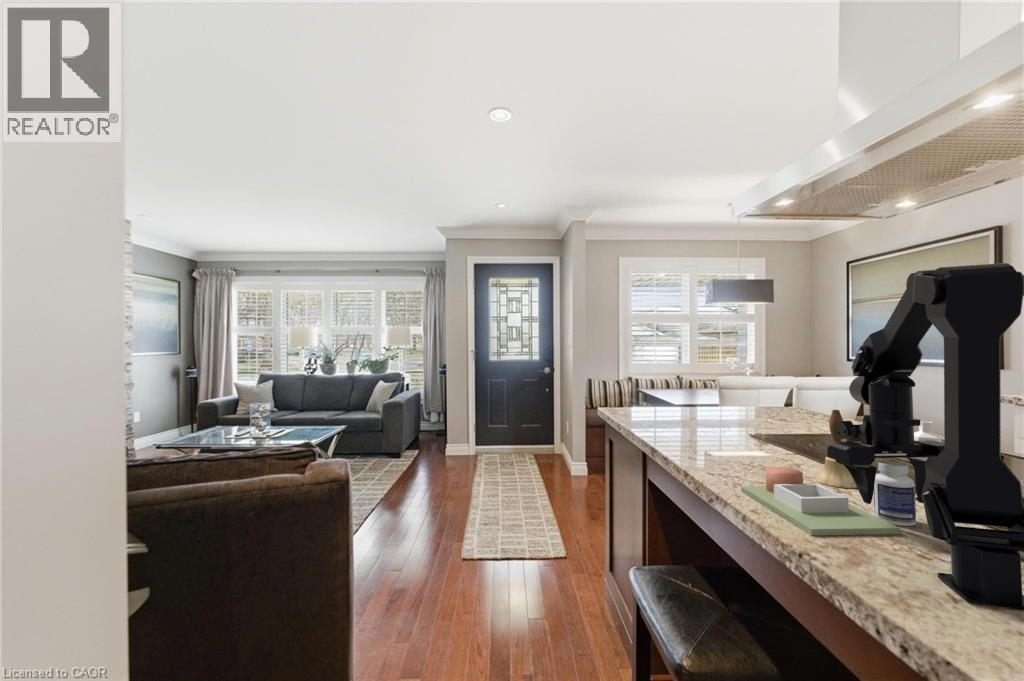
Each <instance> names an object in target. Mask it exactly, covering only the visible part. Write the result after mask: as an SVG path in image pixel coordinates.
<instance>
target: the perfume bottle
mask: <svg viewBox="0 0 1024 681" xmlns="http://www.w3.org/2000/svg"><path fill="white" fill-rule="evenodd" d="M933 424H934V422H933V421H930V420H929V421H928V420H920V425H921V426H918V431H914V441H919V440H933V441H937V442H942V437H943V436H941V435H939V434H938V433H935V432H934V431H933ZM915 499H917V495H916V494H915Z"/></svg>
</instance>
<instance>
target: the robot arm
mask: <svg viewBox="0 0 1024 681" xmlns="http://www.w3.org/2000/svg"><path fill="white" fill-rule="evenodd" d="M905 286H906V289H905V291H904V292H903V294H902V295H901V297H900V300H899V301H898V303H897V304H896V306H895V308H894V309H893V311H892V313H891V314H890V317H889V319H888V320H887V322H886V324H885V326H884V327H883V328H882V329H881V328H880V329H879V330H877V331H874V332H872V333H870V334H869V335H868V336H867V338H865V340H864V341H863V343H862V345H860V346H859V348H858V351H857V352H856V355H855V357H854V360H853V363H852V365H851V367H850V368H851V370H852V375H853V376H854V377H855V378H854V379H853V380H851V382H850V385H849V387H848V390H849V393H850V396H851V397H852V399H854V401H856V402H857V403H860V404H864V405H866V406H869V411H868V412H869V414H864V415H863V417H862V423H861V424H859V423H858V424H854V423H853V421H851V420H843V421H839V422H836V433H837V436H838V438H839V439H841V440H847V441H841V442H833V441H831V442H830V443H829V444H828V445H827V447H826V450H827V451H826V452H827V453H826V454H827V456H828V457H829V458H832V459H835V461H836V462H837V463H840V464H842V465H844V466H845V467H846V468H847V469H848V471H849V472H850V474H851V476H852V477H853V479H854V481H855V483H856V486H857V488H856V489H857V490H858V492H859V494H860V497H861V499H862V501H863V503H865V504H867V505H871V504H872V501H873V499H874V484H875V477H876V474H877V470H878V466H874V465H872V464H873V463H874V462H875V461H876V459H891V458H892V459H894V458H897V459H899V458H903V459H904V458H906V459H908V461H909V463H910V464H911V465H912V467H913V468H914V469H913V470H914V484H915V495H917V498H916V500H917V502H918V503H921V504H923V507H924V512H925V518H926V522H927V525H928V528H929V531H930V536H931V537H932V538H934V539H936V540H941V541H944V542H945V543H946V544H947V545H950V560H951V561H950V562H951V564H950V565H951V566H950V567H951V568H950V569H951V573H945V572H937V578H938V579H939V580H940V581H942V582H943V583H945V585H946V586H947V587H949V588H950V589H951V590H952V591H953V592H955V593H957V595H959V596H960V597H961V598H962V599H963V600H964V601H966V602H968V603H971V604H973V605H974V604H975V605H980V606H981V605H983V606H990V607H998V608H1005V609H1011V610H1012V609H1015V610H1021V611H1024V594H1023V579H1022V576H1023V575H1022V559H1021V558H1022V557H1021V553H1024V496H1023V489H1022V483H1021V481H1020V480H1019V479H1018V478H1017V476H1016V475H1015V473H1013V471H1012V470H1011V469H1010V468H1009V466H1007V463H1005V461H1004V460H1003V459H1002V455H1001V453H1002V452H1001V451H1002V450H1001V447H1002V446H1001V438H1002V436H1001V431H1002V430H1001V421H1002V420H1001V418H1002V417H1001V414H1002V413H1001V407H1002V406H1001V401H1002V400H1001V398H1002V397H1001V390H1002V389H1001V340H1002V337H1003V335H1004V334H1005V333H1006V332H1007V331H1008V330H1009V328H1010V327H1012V325H1013V324H1014V323H1015V322H1016V321H1017V319H1018V318H1019V317H1020V315H1022V309H1023V299H1024V274H1023V272H1021V271H1017V270H1016V268H1014V266H1013V265H1011V264H1009V263H1007V262H1001V263H1000V262H999V263H998V262H997V263H986V264H985V263H984V264H973V265H972V264H971V265H968V264H967V265H955V266H954V265H953V266H942V267H938V268H935V269H925V270H917V271H915V272H911V273H909V275H908V277H907V279H906V285H905ZM932 326H933V327H935V329H936V330H938V333H940V335H941V336H942V337H943V400H944V402H943V403H944V404H943V411H944V412H943V413H944V423H943V426H944V429H943V430H944V436H943V437H944V442H942V441H941V442H937V441H933V440H919V441H914V433H915V427H919V426H921V425H920V421H921V419H919V418H914V398H913V396H914V395H913V388H914V387H916V382H915V380H913V379H912V378H911V376H912V374H913V373H914V372H915V370H916V369H917V367H918V366H919V365H920V364H921V362H922V357H923V352H922V349H921V347H920V343H921V341H922V340H923V338H925V335H926V334H927V333H928V332H929V330H930V329H931V327H932ZM868 445H869V446H868ZM827 456H826V457H827ZM956 524H963V525H964V524H965V525H975V526H984V527H985V526H986V527H993V529H991V528H980V527H971V526H961V525H960V526H959V525H956ZM994 527H996V528H1005V529H1006V528H1007V529H1008V530H1000V529H994ZM1020 552H1021V553H1020Z"/></svg>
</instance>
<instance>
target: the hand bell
mask: <svg viewBox="0 0 1024 681" xmlns="http://www.w3.org/2000/svg"><path fill="white" fill-rule="evenodd" d="M828 420H829V421H828V424H829V425H828V426H829V431H830V435H831V438H832V442H842V439H839V438H838V436H837V433H836V422H839V421H844V419H843V417H842V414H841V412H840V410H839V409H831V414H830V416H829V419H828ZM823 466H824V467H823V470H822V472H821V473H820V474H819V475H818V476H817V477H816V478H815V481H816V482H817V483H819V484H820V485H825V486H829V487H833V488H840V489H842V488H843V489H858V488H857V486H856V483H855V481H854V479H853V477H852V476H851V474H850V472H849V471H848V469H847V468H846V467H845V466H844V465H842V464H840V463H837V462H836V461H835V459H832V458H829V457H828V456H826V457H825V459H824V465H823Z"/></svg>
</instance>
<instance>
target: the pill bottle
mask: <svg viewBox="0 0 1024 681" xmlns="http://www.w3.org/2000/svg"><path fill="white" fill-rule="evenodd" d="M877 470H878V471H879V473H878V472H877V473H876V477H875V484H874V492H873V508H874V509H873V510H874V512H873V513H874V516H875V517H878V518H880V519H882V520H884V521H886V522H888V523H891V524H893V525H895V526H898V527H912V526H916V524H917V513H916V512H917V510H916V507H917V506H916V503H917V502H916V497H915V495H916V485H915V480H913V479H912V478H911V477H909V476H908V475H909V473H910V470H909V465H908V464H906V463H903V462H898V461H892V460H891V461H890V460H879V461H877Z"/></svg>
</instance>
